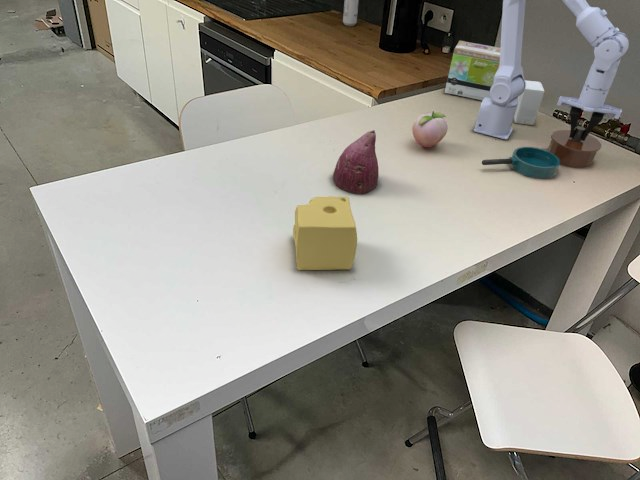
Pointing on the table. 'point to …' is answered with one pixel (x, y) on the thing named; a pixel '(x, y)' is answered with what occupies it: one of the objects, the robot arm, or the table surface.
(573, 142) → the lid
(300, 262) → the cheese
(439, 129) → the decorative fruit
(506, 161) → the pan handle
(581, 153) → the casserole
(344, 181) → the vegetable
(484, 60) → the tea box
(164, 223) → the table surface
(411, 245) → the table surface
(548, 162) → the pan
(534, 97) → the small box
